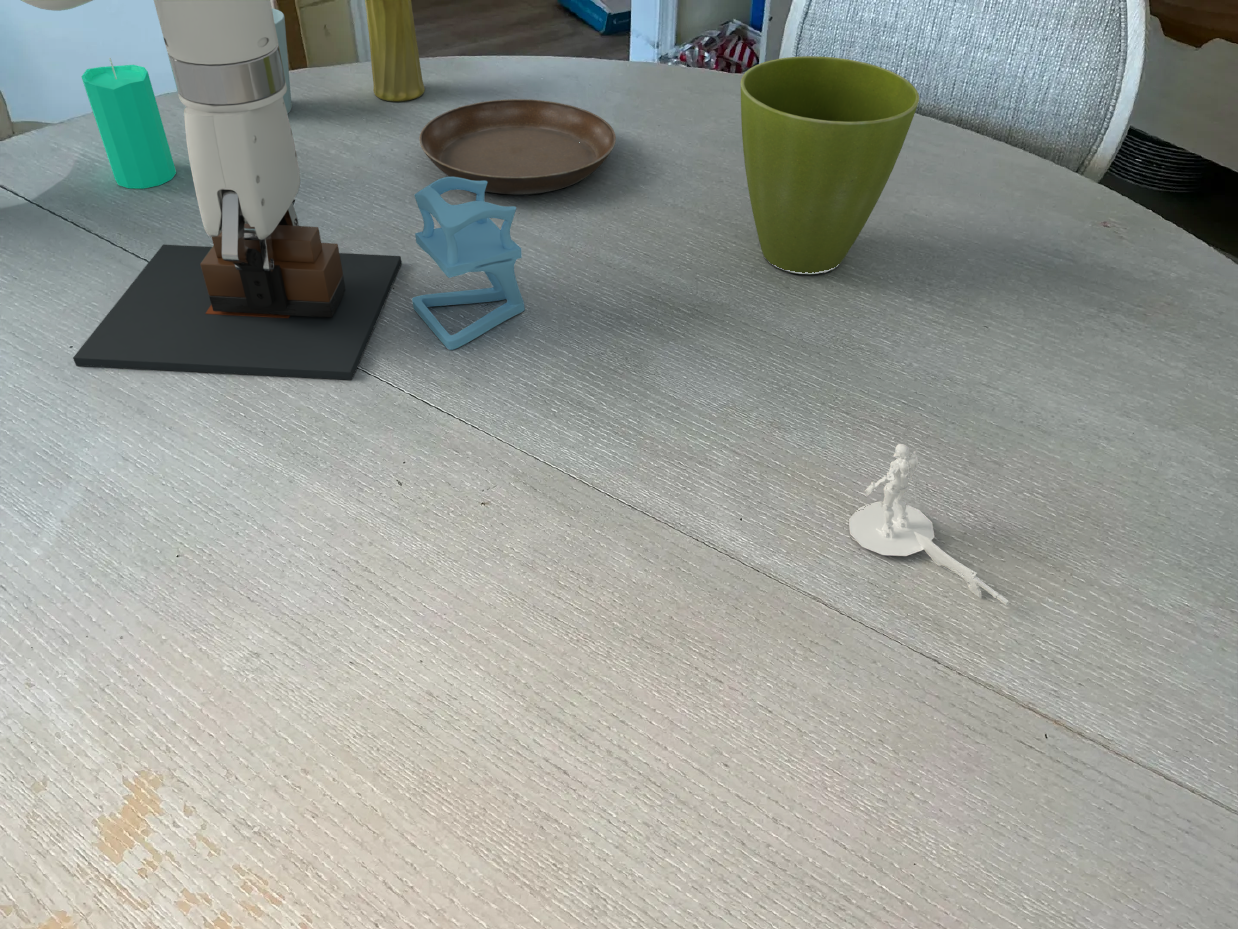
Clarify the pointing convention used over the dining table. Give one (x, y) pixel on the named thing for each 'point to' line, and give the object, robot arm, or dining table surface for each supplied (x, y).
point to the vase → (394, 50)
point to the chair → (468, 255)
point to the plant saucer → (518, 144)
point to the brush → (304, 272)
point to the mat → (235, 324)
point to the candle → (130, 125)
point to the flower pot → (819, 152)
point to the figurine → (904, 523)
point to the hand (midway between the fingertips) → (278, 289)
